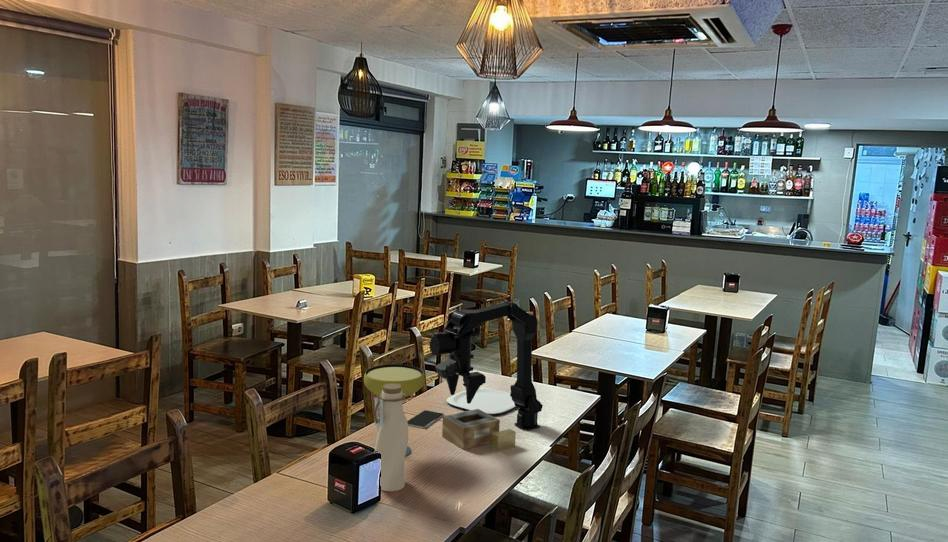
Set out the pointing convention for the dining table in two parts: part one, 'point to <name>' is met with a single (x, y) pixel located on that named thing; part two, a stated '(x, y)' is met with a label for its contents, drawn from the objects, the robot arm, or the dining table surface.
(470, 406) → the plate
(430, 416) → the smartphone
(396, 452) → the water bottle
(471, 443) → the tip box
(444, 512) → the dining table surface
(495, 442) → the wooden block
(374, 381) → the cocktail glass
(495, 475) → the dining table surface
